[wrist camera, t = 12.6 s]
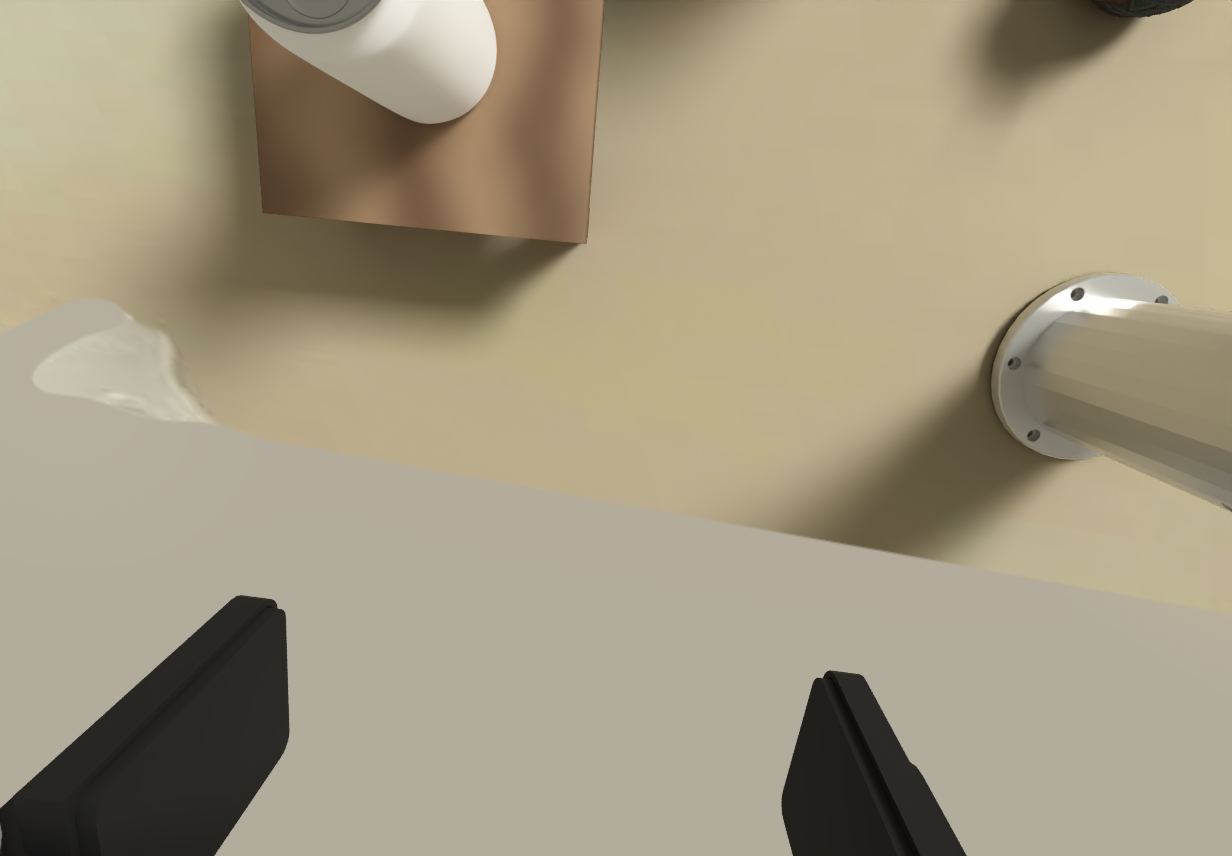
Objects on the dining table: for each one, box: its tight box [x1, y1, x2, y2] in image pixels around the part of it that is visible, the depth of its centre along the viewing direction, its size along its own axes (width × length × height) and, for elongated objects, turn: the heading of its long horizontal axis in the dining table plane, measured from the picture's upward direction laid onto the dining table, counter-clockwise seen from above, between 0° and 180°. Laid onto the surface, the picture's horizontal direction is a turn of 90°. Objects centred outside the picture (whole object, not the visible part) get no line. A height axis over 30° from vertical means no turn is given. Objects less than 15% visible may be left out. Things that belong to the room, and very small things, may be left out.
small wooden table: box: [248, 0, 605, 244], centre depth 32 cm, size 16×16×9 cm
